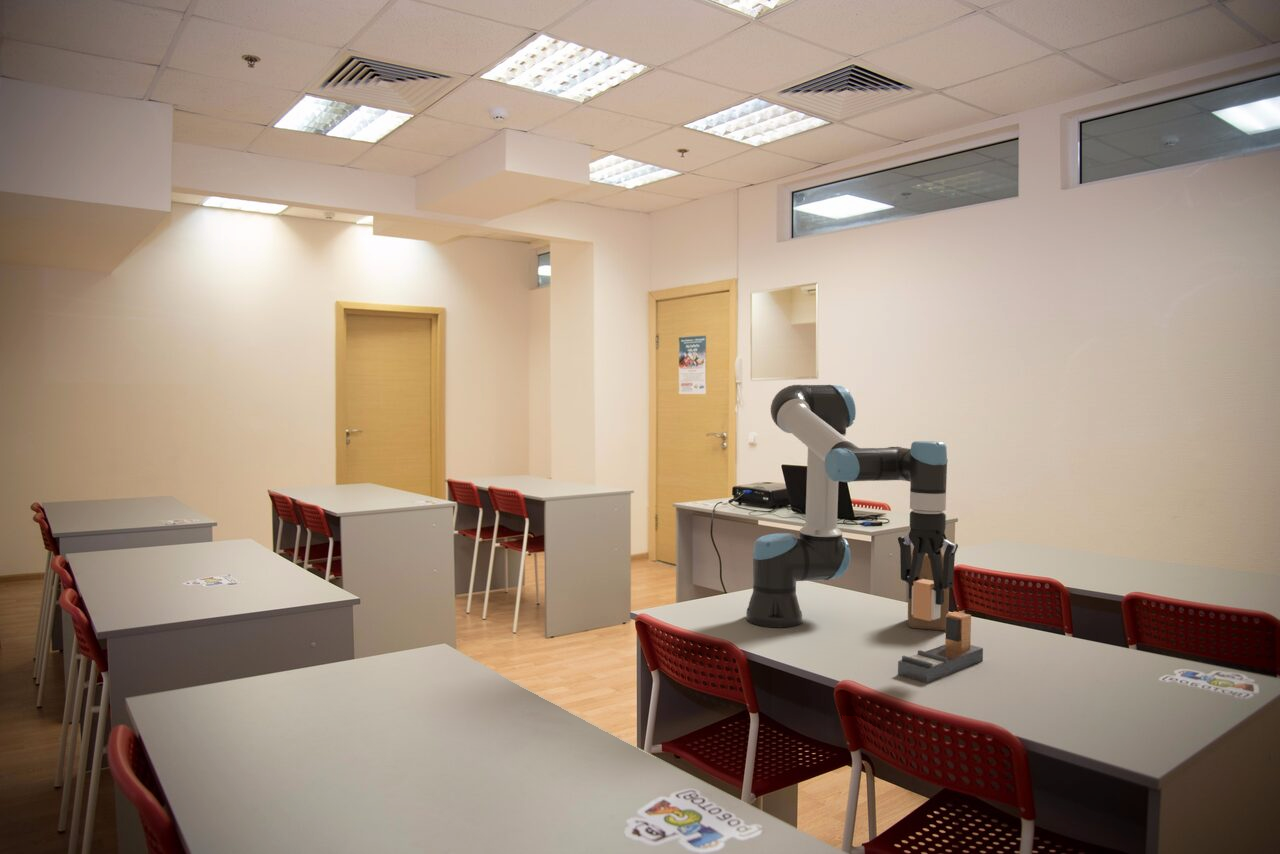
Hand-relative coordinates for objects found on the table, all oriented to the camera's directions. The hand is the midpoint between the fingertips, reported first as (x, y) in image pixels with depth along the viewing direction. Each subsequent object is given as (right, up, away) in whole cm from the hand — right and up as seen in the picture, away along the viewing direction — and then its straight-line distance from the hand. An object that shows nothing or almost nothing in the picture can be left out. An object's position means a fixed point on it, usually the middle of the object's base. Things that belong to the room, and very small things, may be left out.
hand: (925, 616), depth 182 cm
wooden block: (+14, -12, +40) cm, 44 cm away
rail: (+5, -13, +5) cm, 15 cm away
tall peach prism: (0, 0, 0) cm, 0 cm away
